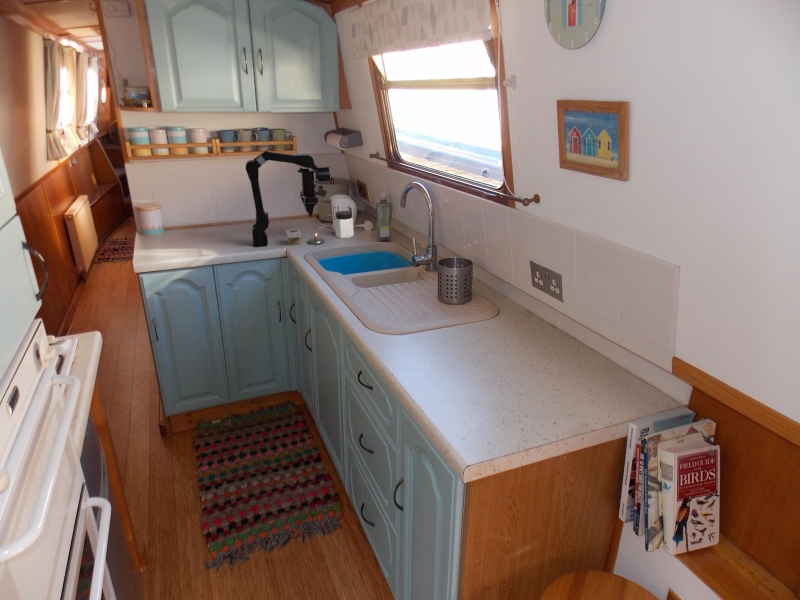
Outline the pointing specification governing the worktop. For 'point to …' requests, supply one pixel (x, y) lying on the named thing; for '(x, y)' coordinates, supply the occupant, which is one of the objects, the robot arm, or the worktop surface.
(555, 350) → the worktop surface
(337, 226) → the jar
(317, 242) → the hub
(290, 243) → the stand
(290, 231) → the square frame block
